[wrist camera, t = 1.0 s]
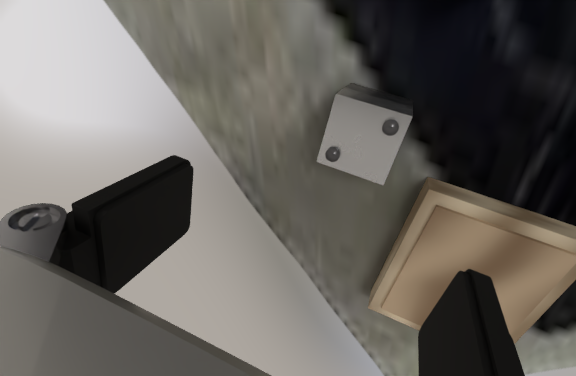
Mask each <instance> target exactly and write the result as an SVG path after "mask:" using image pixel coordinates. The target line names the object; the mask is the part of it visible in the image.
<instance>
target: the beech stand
mask: <svg viewBox="0 0 576 376" xmlns="http://www.w3.org/2000/svg"><path fill="white" fill-rule="evenodd" d="M467 269H472V270H474V271H477V272H479V273H482V274H485V275H487V276H489V277H491V279H492V281H493V284H494V288H495V291H496V294H497V297H498V300H499V303H500V306H501V309H502V312H503V315H504V318H505V321H506V325H507V328H508V331H509V334H510V335H511V337H512V339H513V341H514V344H515V343H516V342H517V341H518V340H519V338H520V337H521V336H522V335H523V334H524V333H525V332H526V331H527V330H528V329H529V328H530V327H531V326H532V325H533V324H534V323H535V322H536V321H537V320H538V319H539V318H540V316H541V315H542V314H543V313H544V312H545V311H546V310H547V309H548V308H549V307H550V306H551V305H552V304H553V303H554V302H555V301H556V300H557V299H558V298H559V297H560V295H561V294H562V293H563V292H564V291H565V290H566V289H567V288H568V287H569V286H570V285H571V284H572V283H573V282H574V281H575V280H576V226H573V225H570V224H567V223H564V222H561V221H559V220H556V219H553V218H550V217H547V216H544V215H541V214H538V213H535V212H532V211H529V210H526V209H523V208H520V207H517V206H514V205H511V204H508V203H505V202H502V201H499V200H496V199H493V198H490V197H487V196H484V195H481V194H478V193H475V192H472V191H469V190H466V189H463V188H460V187H457V186H454V185H451V184H448V183H445V182H442V181H439V180H436V179H433V178H430V177H427V179H426V181H425V183H424V185H423V187H422V189H421V191H420V193H419V195H418V197H417V199H416V201H415V203H414V205H413V207H412V209H411V211H410V213H409V215H408V217H407V219H406V221H405V223H404V225H403V227H402V229H401V231H400V233H399V235H398V237H397V239H396V241H395V243H394V245H393V247H392V249H391V251H390V253H389V255H388V257H387V259H386V261H385V263H384V265H383V267H382V269H381V271H380V273H379V275H378V277H377V279H376V281H375V283H374V285H373V287H372V289H371V294H370V300H369V306H368V308H369V309H372V310H374V311H376V312H378V313H381V314H383V315H385V316H387V317H390V318H392V319H394V320H397V321H399V322H401V323H403V324H406V325H408V326H410V327H412V328H415V329H417V330H419V331H420V328H421V326H422V324H423V323H424V321H425V320H426V319H427V317H428V316H429V314H430V313H431V311H432V310H433V308H434V307H435V305H436V304H437V302H438V301H439V299H440V298H441V296H442V295H443V293H444V292H445V290H446V289H447V287H448V286H449V284H450V283H451V281H452V280H453V278H454V277H455V275H456V274H457V273H458V272H459V271H463V272H465V271H466V270H467Z"/></svg>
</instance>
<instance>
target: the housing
mask: <svg viewBox="0 0 576 376" xmlns="http://www.w3.org/2000/svg"><path fill="white" fill-rule="evenodd" d="M412 117H413V100H410V99H406V98H403V97H399V96H396V95H392V94H389V93H385V92H382V91H379V90H375V89H372V88H368V87H365V86H361V85H358V84H354V83H350V84H349V85H348V86H346V87H345V88H343V89H342V90H340V91H339V92H338V93H336V95H335V99H334V102H333V106H332V109H331V113H330V116H329V120H328V123H327V127H326V130H325V134H324V137H323V141H322V144H321V148H320V151H319V155H318V158H317V162H318V163H321V164H324V165H327V166H330V167H333V168H335V169H338V170H341V171H344V172H347V173H350V174H353V175H355V176H358V177H361V178H364V179H367V180H370V181H372V182H375V183H378V184H381V185H384V183H385V181H386V178H387V176H388V173H389V171H390V169H391V166H392V164H393V162H394V159H395V157H396V155H397V152H398V150H399V148H400V145H401V143H402V140H403V138H404V136H405V133H406V131H407V129H408V126H409V124H410V122H411V119H412Z"/></svg>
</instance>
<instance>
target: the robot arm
mask: <svg viewBox="0 0 576 376" xmlns="http://www.w3.org/2000/svg"><path fill="white" fill-rule="evenodd" d="M192 182H193V167H192V166H191V164H190V162H189V161H188V160H186V159H183V158H181V157H178V156H175V155H174V156H170V157H168V158H166V159H164V160H162V161H160V162H158V163H156V164H153V165H151V166H149V167H147V168H145V169H143V170H141V171H139V172H137V173H135V174H133V175H130V176H129V177H126V178H124V179H122V180H120V181H118V182H116V183H114V184H112V185H110V186H108V187H105V188H104V189H101V190H99V191H97V192H95V193H93V194H91V195H89V196H87V197H85V198H82V199H80V200H78V201H76V202H74V203H72V210H73V211H71V212H69V213H66V211H65V209H64V208H62V207H60V206H58V205H54V204H46V203H40V204H31V205H27V206H23V207H20V208H18V209H15V210H13V211H11V212H10V213H8V214H6V215H5V216H4V217H3V218H2V219H1V221H0V376H271V375H269V374H267V373H265V372H263V371H262V370H260V369H258V368H256V367H254V366H252V365H250V364H248V363H246V362H244V361H242V360H241V359H239V358H237V357H235V356H233V355H231V354H229V353H227V352H225V351H223V350H221V349H219V348H217V347H215V346H214V345H212V344H210V343H208V342H206V341H204V340H202V339H200V338H198V337H196V336H195V335H193V334H191V333H189V332H187V331H185V330H183V329H181V328H179V327H177V326H175V325H173V324H171V323H170V322H168V321H166V320H164V319H162V318H160V317H158V316H156V315H154V314H152V313H150V312H148V311H146V310H144V309H142V308H140V307H138V306H136V305H135V304H133V303H131V302H129V301H127V300H125V299H123V298H121V297H119V296H117V295H115V294H114V293H116V292H117V291H118V290H120V289H121V288H122V287H123V286H124V285H125V284H127V283H128V282H129V281H130V280H131V279H132V278H134V277H135V276H136V275H137V274H138V273H140V272H141V271H142V270H143V269H144V268H145V267H147V266H148V265H149V264H150V263H151V262H153V261H154V260H155V259H156V258H157V257H158V256H160V255H161V254H162V253H163V252H164V251H166V250H167V249H168V248H169V247H170V246H171V245H172V244H174V243H175V242H176V241H177V240H178V239H180V238H181V237H182V236H183V235H184V234H185V233H186V232H187V231H188V229H189V226H190V215H191V199H192V184H193V183H192ZM418 349H419V376H525V375H524V372H523V369H522V366H521V363H520V360H519V357H518V354H517V351H516V348H515V345H514V341H513V339H512V337H511V335H510V334H509V331H508V328H507V325H506V321H505V318H504V315H503V312H502V309H501V306H500V303H499V300H498V297H497V294H496V291H495V288H494V284H493V281H492V279H491V277H489V276H487V275H485V274H482V273H479V272H477V271H474V270H472V269H467V270H466V271H465V272H463V271H459V272H458V273H457V274H456V275H455V277H454V278H453V280H452V281H451V283H450V284H449V286H448V287H447V289H446V290H445V292H444V293H443V295H442V296H441V298H440V299H439V301H438V302H437V304H436V305H435V307H434V308H433V310H432V311H431V313H430V314H429V316H428V317H427V319H426V320H425V321H424V323H423V324H422V326H421V328H420V331H419V336H418Z"/></svg>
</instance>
